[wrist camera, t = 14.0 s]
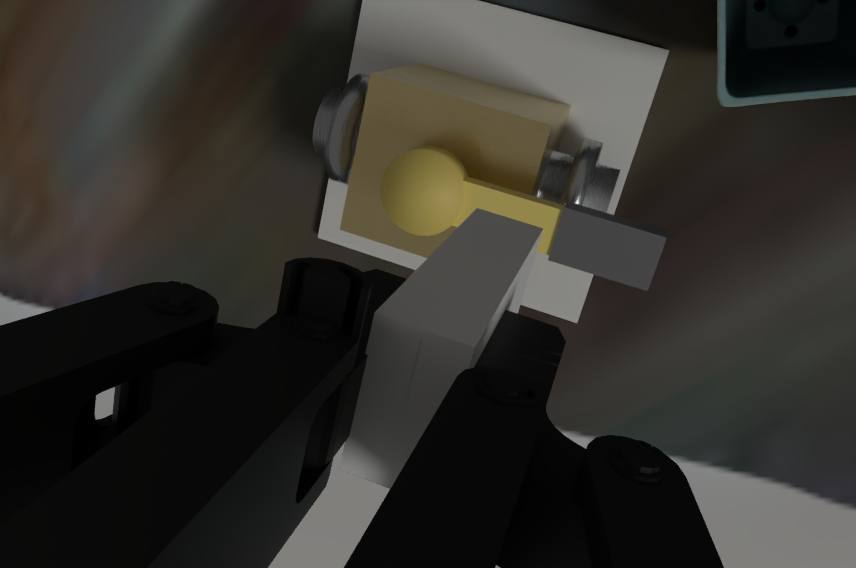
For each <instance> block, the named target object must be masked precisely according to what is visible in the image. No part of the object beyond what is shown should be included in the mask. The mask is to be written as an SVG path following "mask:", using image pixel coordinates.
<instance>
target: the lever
mask: <svg viewBox="0 0 856 568" xmlns="http://www.w3.org/2000/svg"><path fill="white" fill-rule="evenodd" d="M380 196H381V201H382V204H383V207H384V209H385V211H386V213H387V215H388V216H389V218H390V219H391V220H392V221H393V222H394V223H395V224H396V225H397V226H398V227H399V228H401V229H402V230H404V231H406V232H408V233H411V234H414V235H420V236H430V235H435V234H438V233H441V232H443V231H445V230H446V229H448V228H449V227H450V226H451V225H452V226H455V227H459V226H460V225H461V224H462V223H463V222H464V221H465V220H466V219H467V218H468V217H469V216H470V215H471V214H472V212H473V211H474V210H475V209H476V208H479V209H482V210H486V211H489V212H492V213H495V214H498V215H502V216H505V217H508V218H511V219H514V220H518V221H521V222H524V223H527V224H531V225H534V226H537V227H540V228H543V232H542V235H541V238H540V242H539V245H538V248H537V251H536V252H539V253H542V254H546V255H549V258H548V260H549V261H552V262H555V263H558V264H562V265H565V266H568V267H571V268H574V269H578V270H581V271H584V272H587V273H591V274H594V275H597V276H600V277H603V278H607V279H610V280H613V281H616V282H620V283H623V284H626V285H629V286H632V287H636V288H639V289H642V290H645V291H648V289H649V286H650V283H651V280H652V278H653V275H654V272H655V269H656V267H657V264H658V261H659V258H660V256H661V253H662V250H663V247H664V245H665V242H666V239H667V231H666V230H663V229H659V228H656V227H653V226H649V225H646V224H642V223H639V222H636V221H632V220H629V219H625V218H622V217H619V216H615V215H612V214H609V213H605V212H602V211H598V210H595V209H592V208H588V207H585V206H581V205H578V204H575V203H571V202H568V201H567V203H566V205H561V204H558V203H555V202H551V201H548V200H545V199H541V198H538V197H535V196H531V195H528V194H524V193H521V192H518V191H514V190H511V189H508V188H504V187H501V186H497V185H494V184H491V183H487V182H484V181H481V180H477V179H474V178H470V177H468V174H467V172H466V170H465V168H464V166H463V164H462V163H461V162H460V161H459V159H458V158H457V157H456V156H454V155H453V154H452V153H450V152H449V151H447V150H445V149H443V148H440V147H437V146H430V145H425V146H418V147H415V148H412V149H410V150H408V151H406V152H404V153H402V154H401V155H399V156H397V157H396V158H395V159H394V160H392V161H391V162H390V164H389V165H388V166H387V168H386V169H385V171H384V173H383V176H382V179H381V185H380Z"/></svg>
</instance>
